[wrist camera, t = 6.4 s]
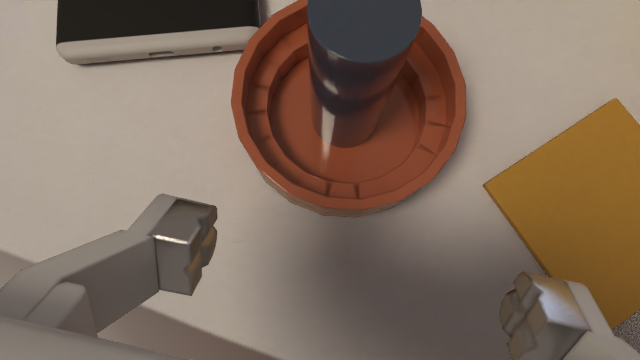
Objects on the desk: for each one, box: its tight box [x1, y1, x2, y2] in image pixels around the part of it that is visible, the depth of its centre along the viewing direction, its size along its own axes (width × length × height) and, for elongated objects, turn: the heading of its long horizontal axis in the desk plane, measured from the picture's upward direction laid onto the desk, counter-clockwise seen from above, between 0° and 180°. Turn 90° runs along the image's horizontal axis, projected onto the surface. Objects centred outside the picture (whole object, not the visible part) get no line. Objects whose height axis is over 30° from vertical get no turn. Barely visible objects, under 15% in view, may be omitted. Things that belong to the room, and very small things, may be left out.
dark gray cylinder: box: [307, 0, 422, 148], centre depth 21 cm, size 4×4×11 cm
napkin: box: [483, 98, 640, 330], centre depth 25 cm, size 11×11×1 cm
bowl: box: [231, 0, 466, 218], centre depth 24 cm, size 13×13×4 cm
